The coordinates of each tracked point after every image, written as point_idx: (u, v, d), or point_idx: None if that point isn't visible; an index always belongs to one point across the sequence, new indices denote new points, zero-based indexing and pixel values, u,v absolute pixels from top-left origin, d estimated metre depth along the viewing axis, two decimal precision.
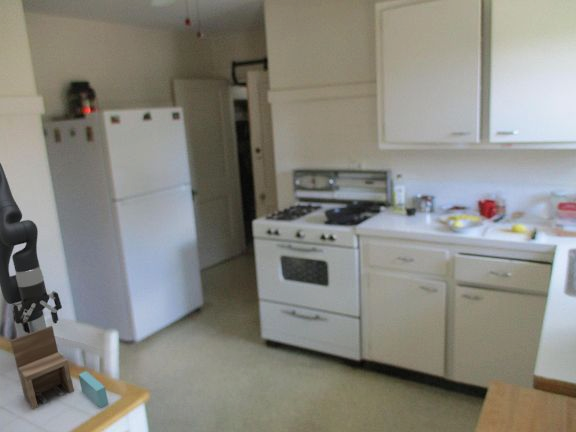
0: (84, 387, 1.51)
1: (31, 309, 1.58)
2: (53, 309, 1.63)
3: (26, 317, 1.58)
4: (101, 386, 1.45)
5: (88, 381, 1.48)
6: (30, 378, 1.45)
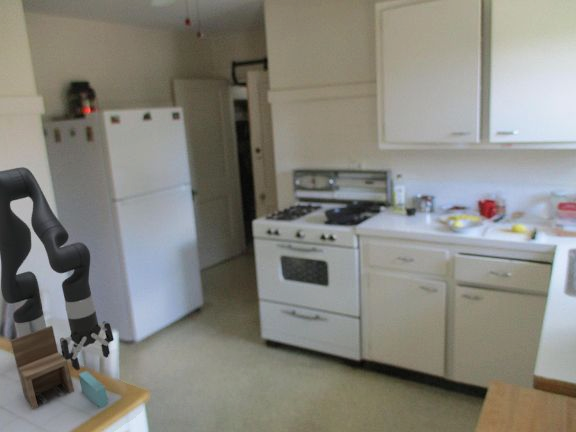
0: (84, 387, 1.51)
1: (82, 343, 1.40)
2: (104, 342, 1.45)
3: (76, 352, 1.39)
4: (101, 386, 1.45)
5: (89, 381, 1.48)
6: (30, 378, 1.45)
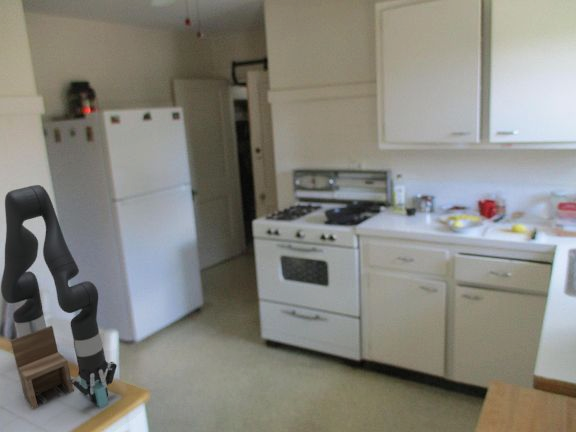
0: (84, 386, 1.51)
1: (92, 379, 1.43)
2: (103, 384, 1.46)
3: (92, 388, 1.44)
4: (101, 385, 1.45)
5: None
6: (30, 378, 1.45)
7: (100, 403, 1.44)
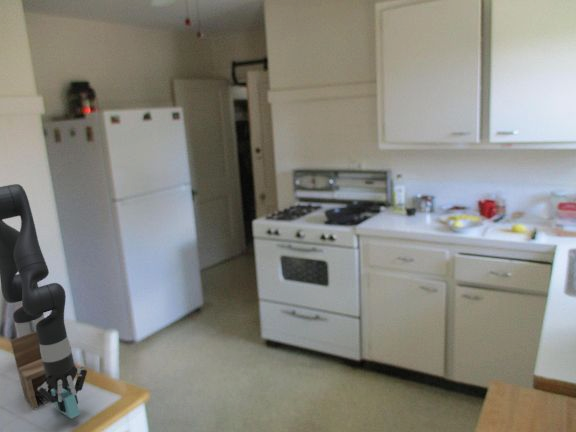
0: (56, 402, 1.43)
1: (60, 386, 1.36)
2: (72, 392, 1.39)
3: (60, 395, 1.36)
4: (70, 394, 1.37)
5: None
6: (30, 378, 1.45)
7: (70, 413, 1.36)
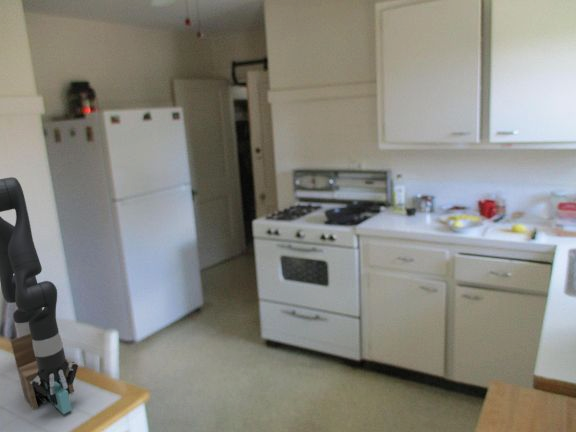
0: None
1: (52, 380, 1.41)
2: (64, 385, 1.44)
3: (52, 388, 1.42)
4: (64, 391, 1.42)
5: None
6: (30, 378, 1.45)
7: (63, 409, 1.41)
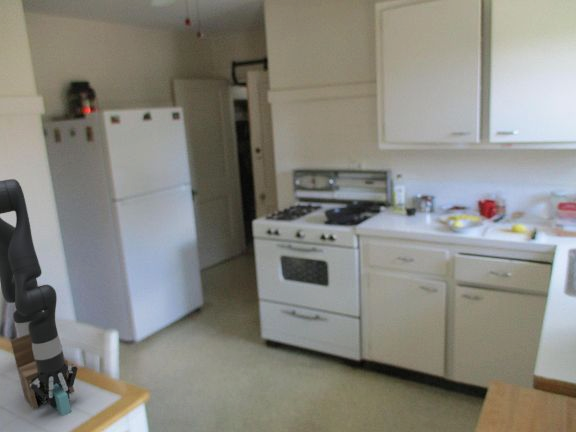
0: None
1: (51, 383, 1.42)
2: (64, 387, 1.46)
3: (50, 391, 1.43)
4: (64, 393, 1.43)
5: None
6: (30, 378, 1.45)
7: (62, 411, 1.42)
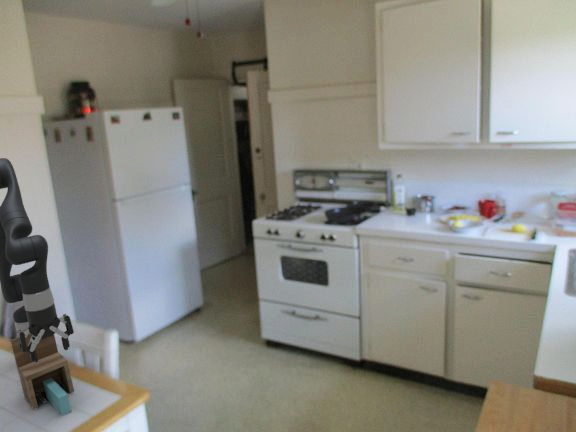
0: (48, 394, 1.49)
1: (39, 336, 1.39)
2: (64, 335, 1.44)
3: (34, 345, 1.39)
4: (64, 393, 1.43)
5: (52, 388, 1.46)
6: (30, 378, 1.45)
7: (63, 411, 1.42)
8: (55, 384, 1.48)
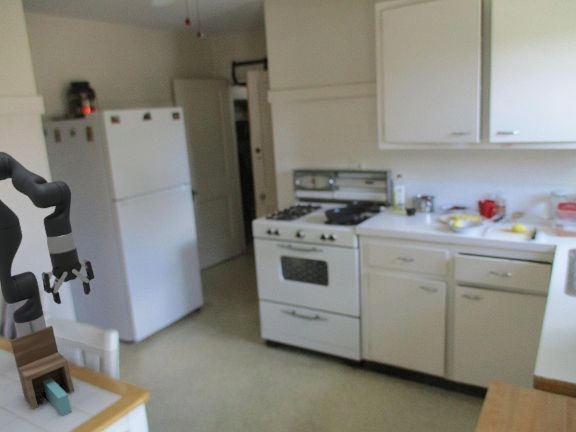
0: (48, 394, 1.49)
1: (63, 278, 1.45)
2: (85, 279, 1.51)
3: (57, 286, 1.45)
4: (64, 393, 1.43)
5: (52, 388, 1.46)
6: (30, 378, 1.45)
7: (62, 411, 1.42)
8: (55, 384, 1.48)
